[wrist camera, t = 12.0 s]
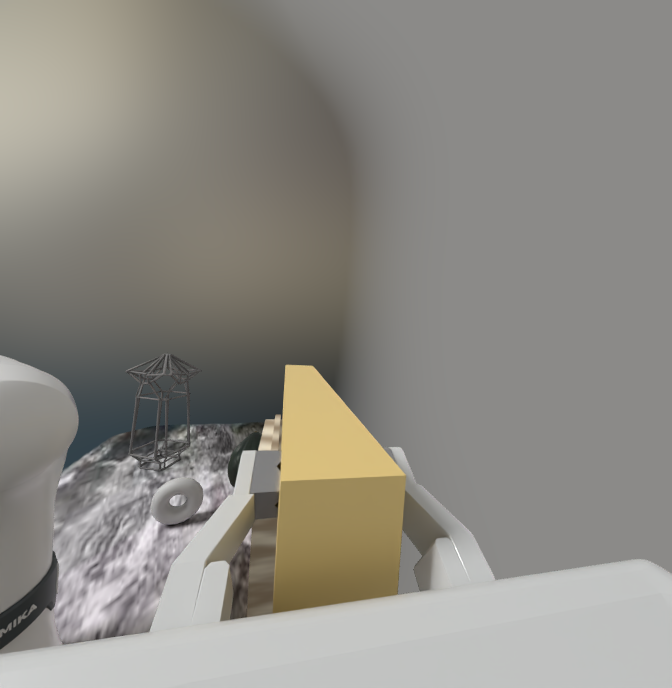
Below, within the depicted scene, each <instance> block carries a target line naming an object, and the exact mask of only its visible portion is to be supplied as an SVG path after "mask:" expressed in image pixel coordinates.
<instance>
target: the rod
mask: <svg viewBox="0 0 672 688" xmlns="http://www.w3.org/2000/svg"><path fill="white" fill-rule="evenodd" d="M281 450H282V455H281V471H280V472H281V474H280V492H279V505H278V517H277V536H276V555H275V575H274V594H273V613H279V612H286V611H293V610H299V609H306V608H313V607H319V606H326V605H333V604H340V603H346V602H353V601H360V600H366V599H373V598H380V597H386V596H393V595H397V594H398V580H399V567H400V553H401V552H400V551H401V538H402V526H403V512H404V498H405V485H406V475H405V473H404V472H403V471H402V470H401V469H400V468H399V466H398V465H397V464H396V463H395V462H394V461H393V459H392V458H391V457H390V456H389V455H388V454H387V452H386V451H385V450H384V449H383V448H382V447H381V445H380V444H379V443H378V442H377V441H376V439H375V438H374V437H373V436H372V435H371V434H370V432H369V431H368V430H367V429H366V428H365V427H364V426H363V424H362V423H361V422H360V421H359V420H358V418H357V417H356V416H355V415H354V414H353V413H352V411H351V410H350V409H349V408H348V407H347V406H346V404H345V403H344V402H343V401H342V400H341V399H340V397H339V396H338V395H337V394H336V393H335V392H334V391H333V389H332V388H331V387H330V386H329V384H328V383H327V382H326V381H325V380H324V379H323V377H322V376H321V375H320V374H319V373H318V372H317V370H316V369H315V368H314V367H313V366H300V365H286V368H285V384H284V401H283V420H282V440H281ZM273 613H272V614H273Z"/></svg>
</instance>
